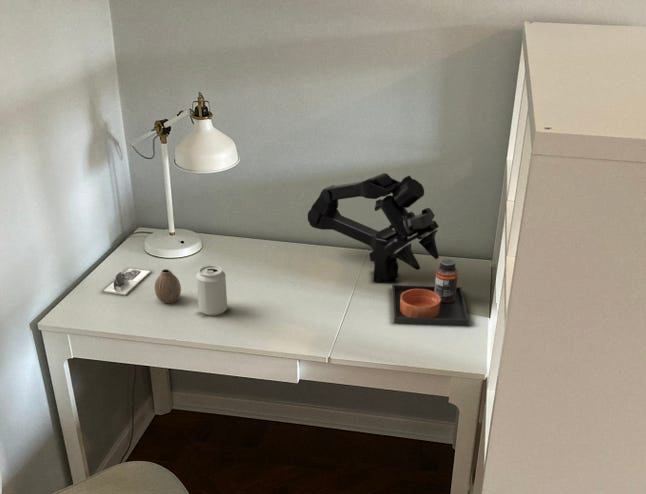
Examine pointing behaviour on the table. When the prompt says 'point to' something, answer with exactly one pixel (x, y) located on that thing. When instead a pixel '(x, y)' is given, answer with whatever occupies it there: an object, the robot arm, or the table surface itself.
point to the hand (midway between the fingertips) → (428, 263)
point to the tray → (447, 316)
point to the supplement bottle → (446, 280)
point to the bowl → (420, 303)
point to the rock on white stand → (126, 281)
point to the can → (212, 290)
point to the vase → (167, 287)
